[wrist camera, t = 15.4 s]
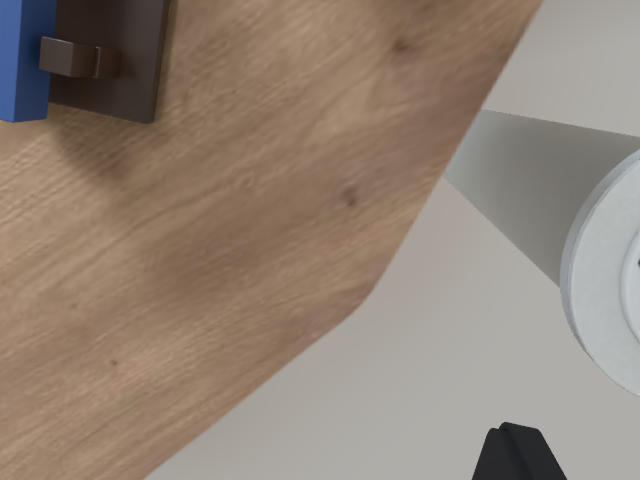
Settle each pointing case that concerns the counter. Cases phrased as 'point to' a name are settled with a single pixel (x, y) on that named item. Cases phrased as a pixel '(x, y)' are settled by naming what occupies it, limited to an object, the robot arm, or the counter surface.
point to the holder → (106, 56)
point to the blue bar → (24, 58)
